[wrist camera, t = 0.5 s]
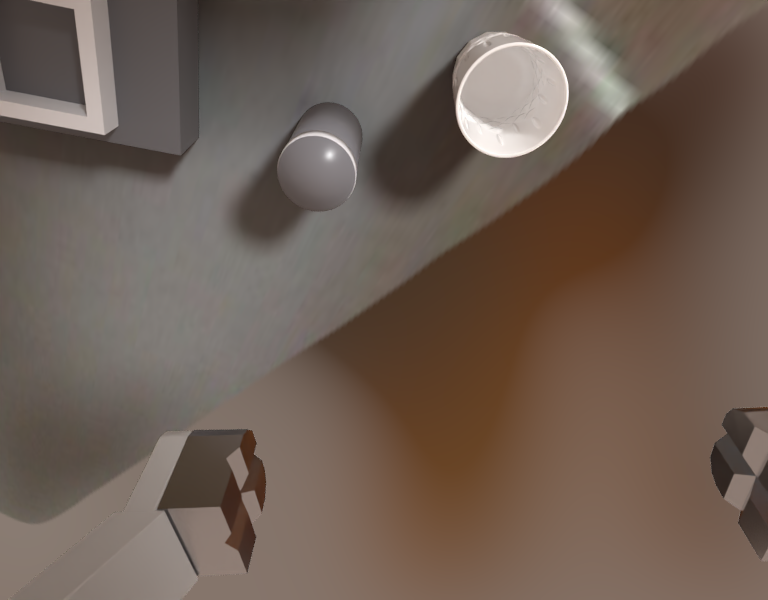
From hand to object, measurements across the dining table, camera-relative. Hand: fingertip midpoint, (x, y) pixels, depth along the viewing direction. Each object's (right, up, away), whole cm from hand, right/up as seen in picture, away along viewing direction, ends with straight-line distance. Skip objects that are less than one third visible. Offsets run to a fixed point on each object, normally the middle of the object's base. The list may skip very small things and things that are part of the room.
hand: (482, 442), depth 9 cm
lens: (-7, +18, +40) cm, 44 cm away
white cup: (+8, +22, +37) cm, 43 cm away
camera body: (-28, +25, +36) cm, 51 cm away
